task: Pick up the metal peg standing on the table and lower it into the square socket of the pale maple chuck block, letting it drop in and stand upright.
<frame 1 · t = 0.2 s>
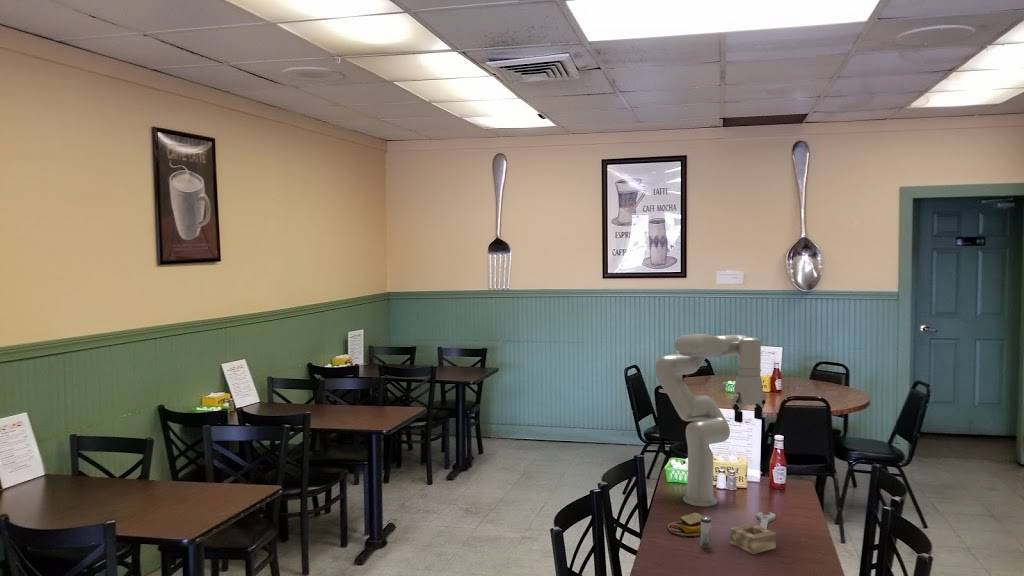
hand: (748, 420, 268), 37 cm above the table, tool pointing down, fingers open, 9 cm apart
metal peg: (705, 546, 248), on the table
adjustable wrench: (761, 527, 266), on the table
toy sandwich meal: (687, 531, 262), on the table
chuck block: (752, 545, 249), on the table
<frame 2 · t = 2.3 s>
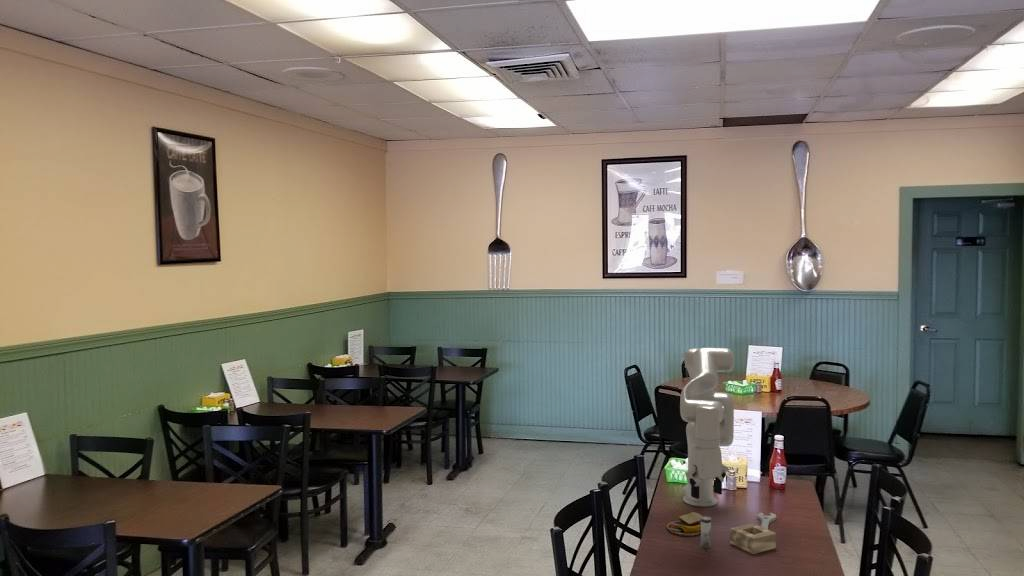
hand: (706, 495, 247), 17 cm above the table, tool pointing down, fingers open, 9 cm apart
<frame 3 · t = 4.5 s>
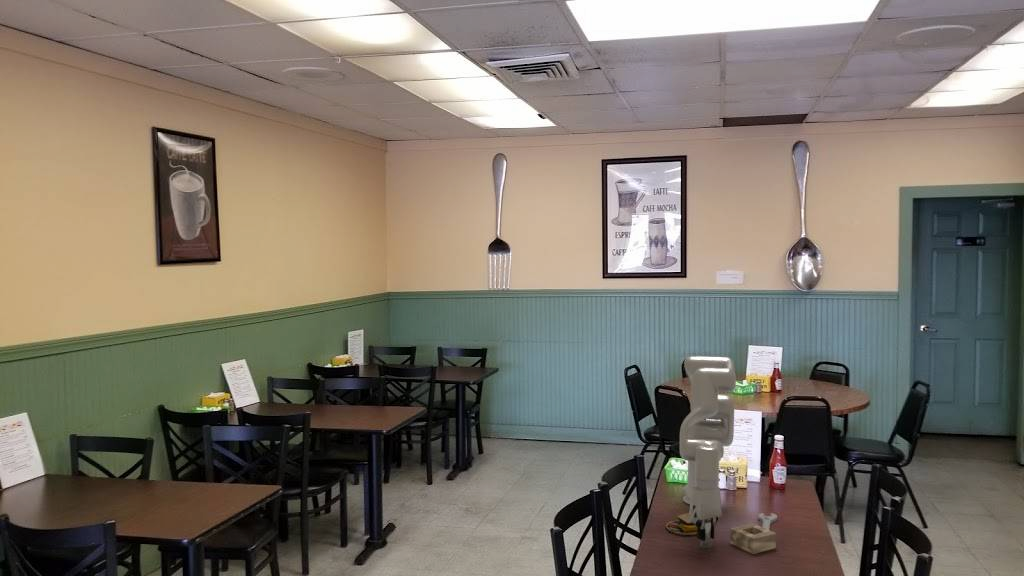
hand: (705, 538, 248), 3 cm above the table, tool pointing down, fingers closed on metal peg, 3 cm apart
metal peg: (705, 546, 248), on the table, touching gripper
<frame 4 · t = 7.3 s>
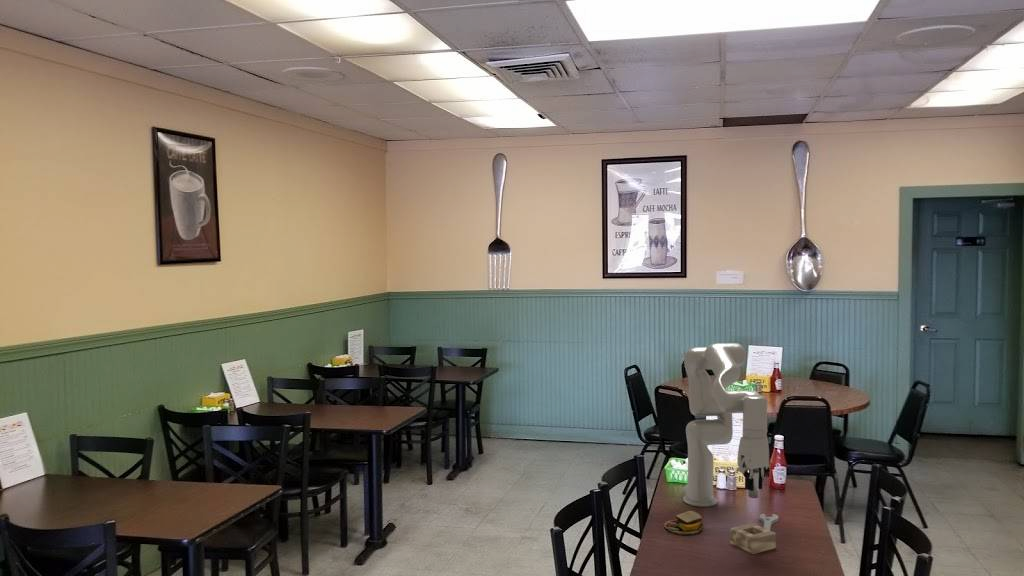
hand: (753, 488, 248), 19 cm above the table, tool pointing down, fingers closed on metal peg, 3 cm apart
metal peg: (753, 496, 248), point 16 cm above the table, touching gripper
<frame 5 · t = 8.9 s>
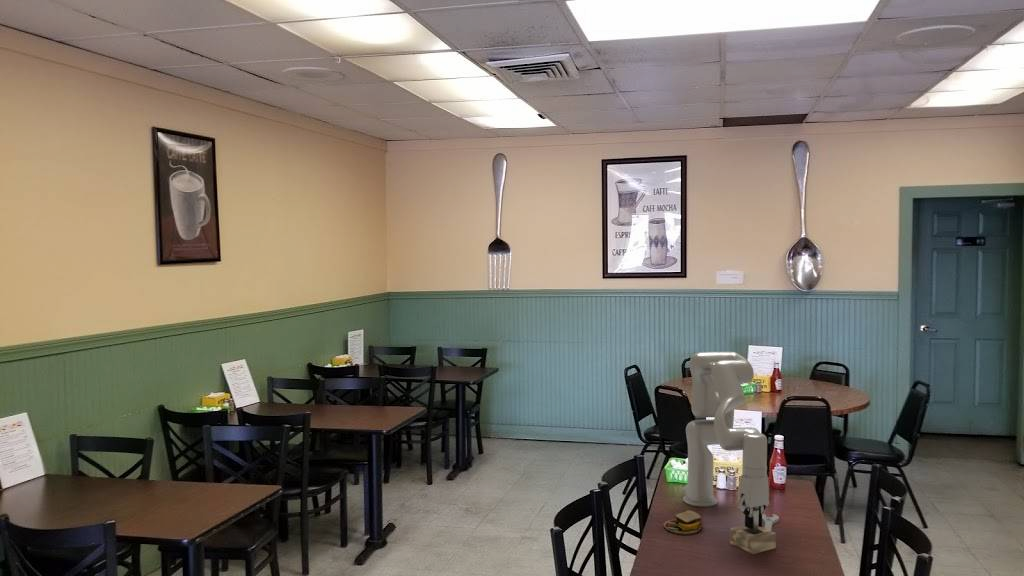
hand: (753, 526, 248), 7 cm above the table, tool pointing down, fingers closed on metal peg, 3 cm apart
metal peg: (753, 534, 248), point 4 cm above the table, touching gripper
when the fingers open (6 cm above the table, at t = 10.0 s): metal peg drops 2 cm, resting on chuck block.
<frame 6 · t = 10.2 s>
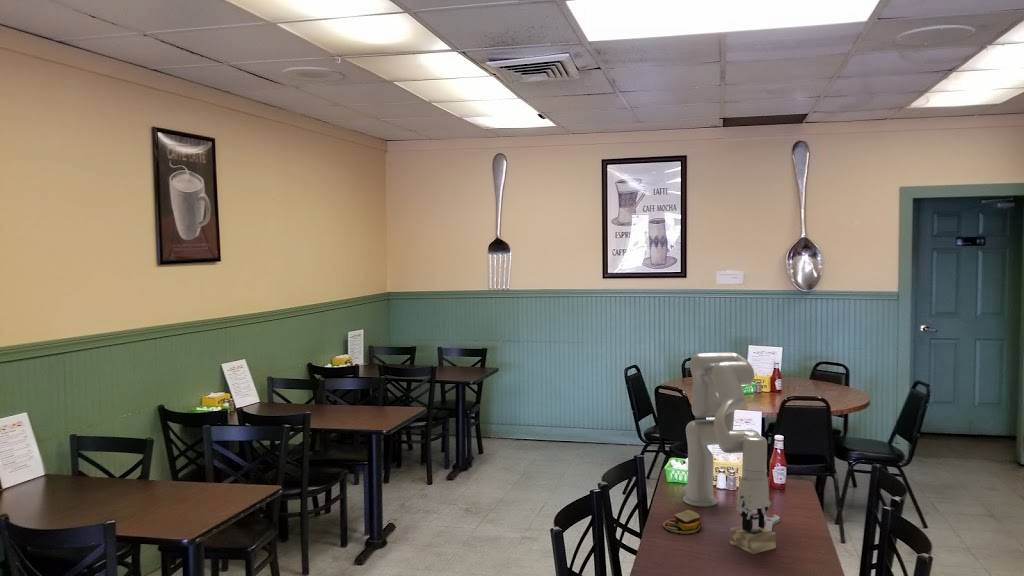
hand: (753, 528, 248), 6 cm above the table, tool pointing down, fingers open, 5 cm apart
metal peg: (753, 542, 249), point 1 cm above the table, touching chuck block
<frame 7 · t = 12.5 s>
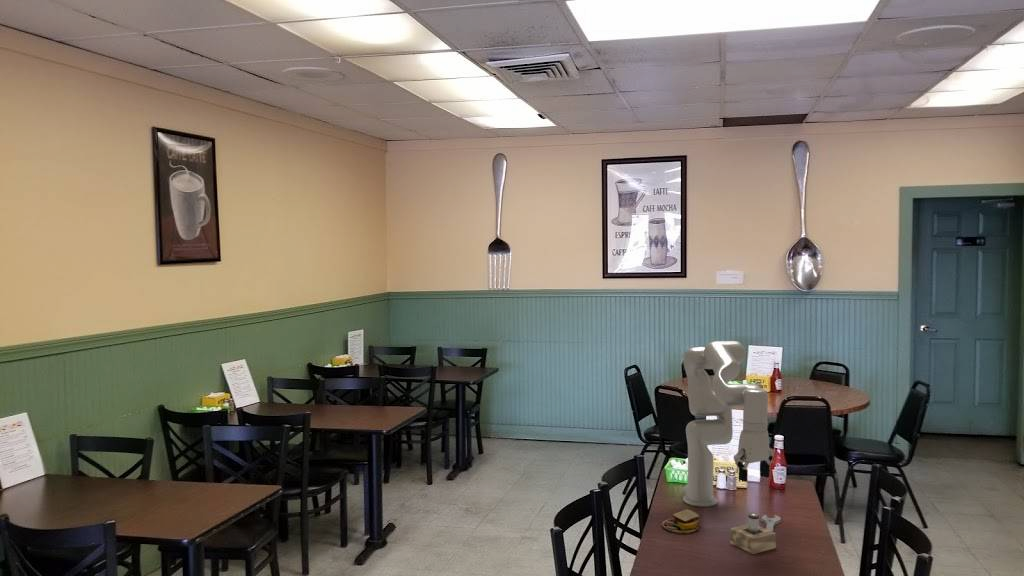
hand: (753, 478, 248), 22 cm above the table, tool pointing down, fingers open, 9 cm apart
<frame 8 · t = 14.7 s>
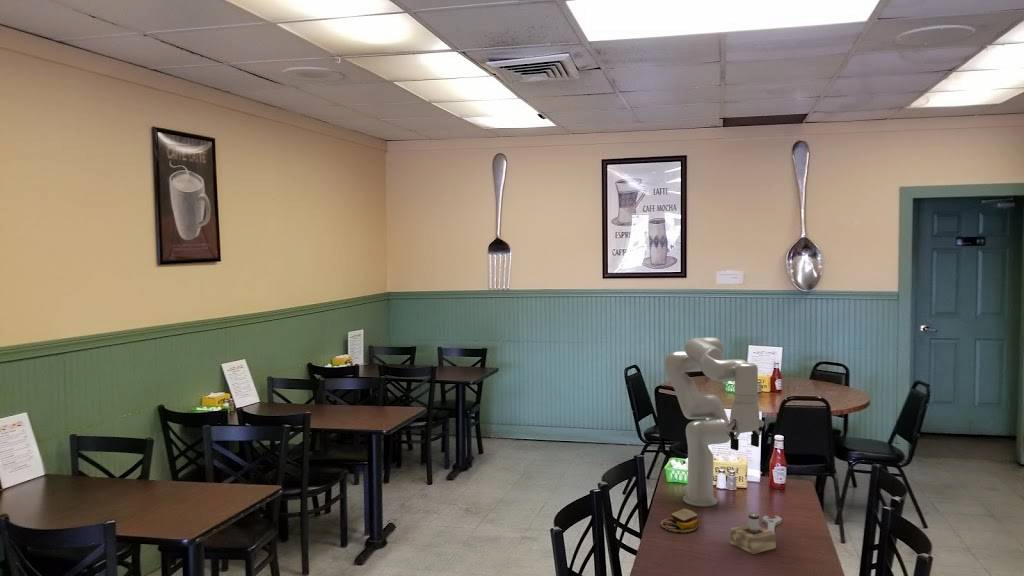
hand: (744, 447, 263), 28 cm above the table, tool pointing down, fingers open, 9 cm apart
at the end: metal peg 0.1 cm off-centre on the chuck block, point 1.0 cm above the chuck block's base; metal peg tilted 0°; the gripper is holding nothing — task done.
